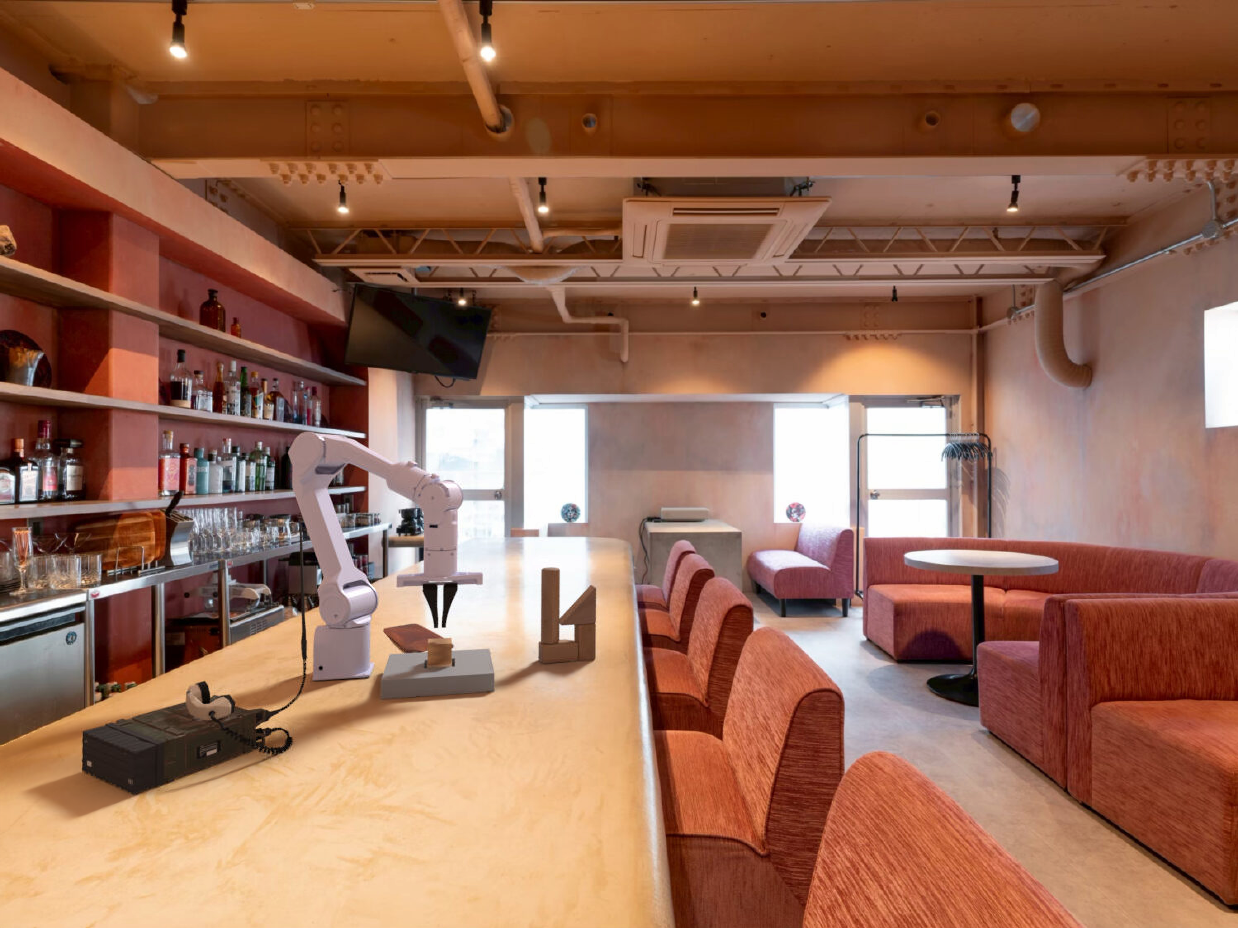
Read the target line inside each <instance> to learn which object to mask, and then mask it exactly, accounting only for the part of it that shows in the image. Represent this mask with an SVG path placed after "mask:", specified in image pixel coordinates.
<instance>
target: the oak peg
mask: <svg viewBox="0 0 1238 928" xmlns="http://www.w3.org/2000/svg"><path fill="white" fill-rule="evenodd" d="M452 644H453V639H452V637H443V638H438V639H428V651H427V652H428V663H427V668H439V667H452V651H453V648H452Z"/></svg>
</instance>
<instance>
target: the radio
mask: <svg viewBox="0 0 1238 928" xmlns="http://www.w3.org/2000/svg"><path fill="white" fill-rule="evenodd" d="M303 547H304V545H303V527H302V520H299V560H300V561H299V562H300V564H299V566H300V568H299V569H300V596H301V597H300V599H301V600H300V601H301V606H300V607H301V640H300V649H301V657H302V677H301V679H302V680H301V685H300V687H299V689H298V692H297V693H296V696H295V697H293V698H292V700H291V701H289V702H288V703H287V704H286V705H284V706H282V707H281V708H277V709H275V710H271V711H270V710H268V709H265V708H262V707H259V708H253V709H252V708H251V709H247V708H243V707H239V706H236V701H235V700H234V699H233V698H232V695H231V694H224V695H223V694H222V695H217V694H213V695H212V696H211V691H210V688H209V684H208V683H207V681H205V680H203V681H200V682H196V683H195V684H193V685H189V686H188V688H187V690H186V692H185V701H184V702H181V703H178V704H174V705H170V706H166V707H163V708H160V709H155V710H151V711H149V712H144V713H141V714H138V715H134V716H132V717H131V718H126V719H125V718H120V719H117V720H116V721H115V722H113V721H112V722H109V723H105V724H104V725H102V726H97V727H94V728H90V729H85V730H83V731H82V733H81V734H82V738H81V739H82V740H81V742H82V747H81V752H82V753H81V754H82V757H81V758H82V759H81V762H82V763H81V764H82V765H81V771H82V772H85V773H86V774H90V776H94V777H95V778H96V779H100V780H101V781H105V783H110V785H111V786H115V787H116V788H118V789H119V788H120V790H122V791H126V792H127V793H130V794H132V796H133V795H137V794H139V793H141V792H143V791H147V790H149V789H151V788H153V787H159V786H162V785H164V784H165V783H167V784H170V783H172V782H175V780H176V779H177V778H180V777H184V776H187V775H190V774H193V773H198V772H199V771H203V770H205V769H209V768H211V767H212V766H213V765H214V766H215V765H218V764H221V763H223V762H226V761H228V760H231V759H233V758H236V757H239V756H241V754H242V755H244V754H247V753H250V752H253V751H254V750H258V751H259V753H261V752H262V753H263V754H265V753H266V754H267V755H272V756H273V755H274V754H275V755H278V754H282V753H284V752H287V750H289V749H290V748H291V746H292V745H293V736H290V732H289V730H288V729H285V728H283V727H272V728H270V727H265V728H262V727H259V726H260V725H261V724H263V723H265V722H269V721H270V719H271V718H273V716H276V715H279V714H280V712H282V711H285V710H286V709H288V708H290V707H291V706H292V705H293V704H294V703H295V702H296V701H297V700H298V699H299V698H300V696H301V694H302V692H303V691H304V687H305V683H306V678H307V677H306V676H307V673H306V672H307V659H308V656H307V653H308V651H307V650H308V640H307V628H306V627H307V626H306V614H305V613H306V612H305V609H306V608H305V579H304V577H305V576H304V551H303V550H304V549H303ZM277 731H282V732H283V733H284V734H285V735H286V738H285V741H284V742H285V743H284V744H283V745H282V746H278V747H276V746H275V747H274V746H271V747H268V746H267V745H266V737H269V736H271V734H272V733H275V732H277Z"/></svg>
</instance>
